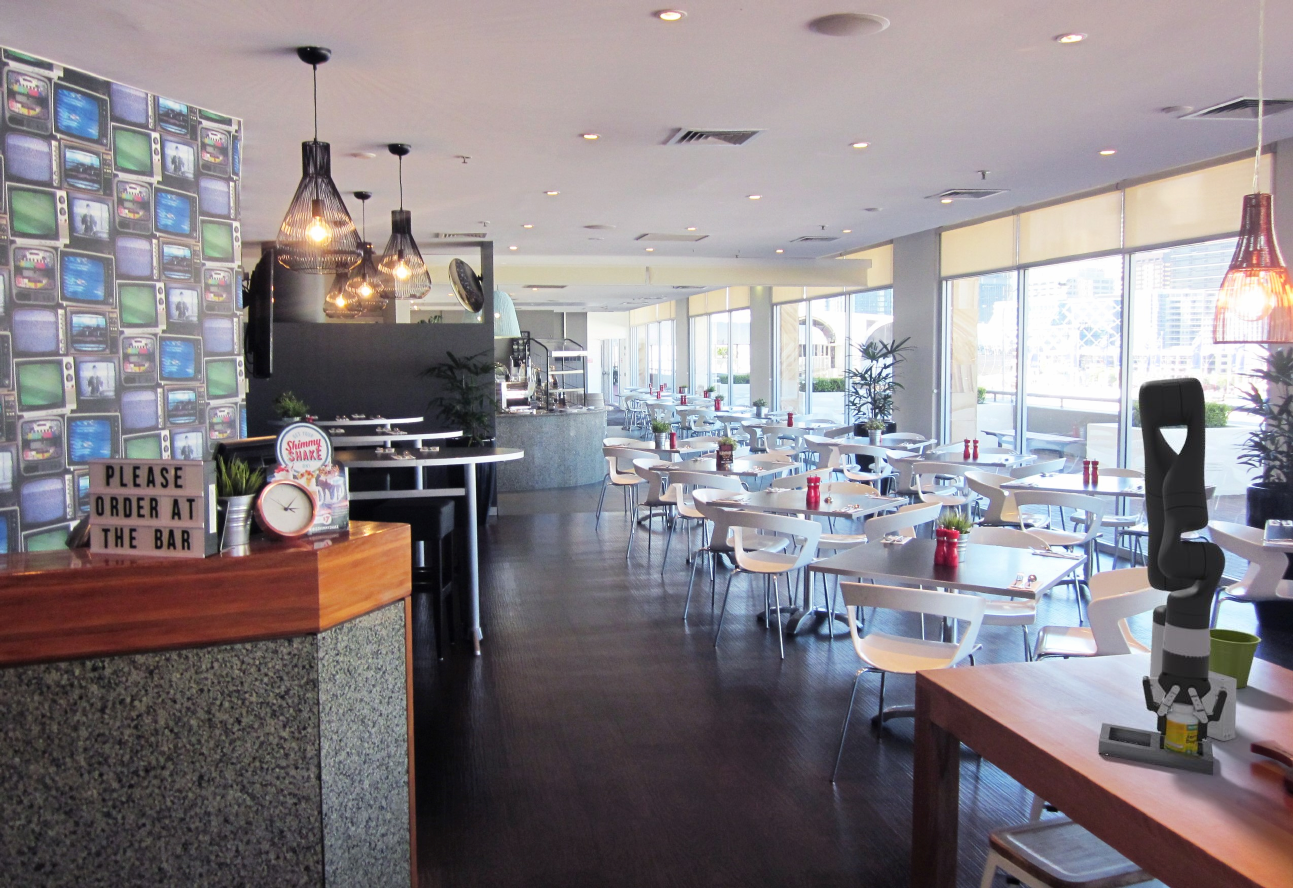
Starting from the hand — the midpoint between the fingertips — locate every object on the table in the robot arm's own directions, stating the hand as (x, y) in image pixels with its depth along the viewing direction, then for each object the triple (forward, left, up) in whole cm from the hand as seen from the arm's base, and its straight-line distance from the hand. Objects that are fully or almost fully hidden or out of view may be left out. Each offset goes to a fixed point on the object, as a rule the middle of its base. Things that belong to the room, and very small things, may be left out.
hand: (1181, 736), depth 173 cm
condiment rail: (0, -4, -4) cm, 6 cm away
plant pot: (-52, +10, -4) cm, 53 cm away
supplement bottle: (0, 0, -3) cm, 3 cm away
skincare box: (-16, +6, -4) cm, 18 cm away
